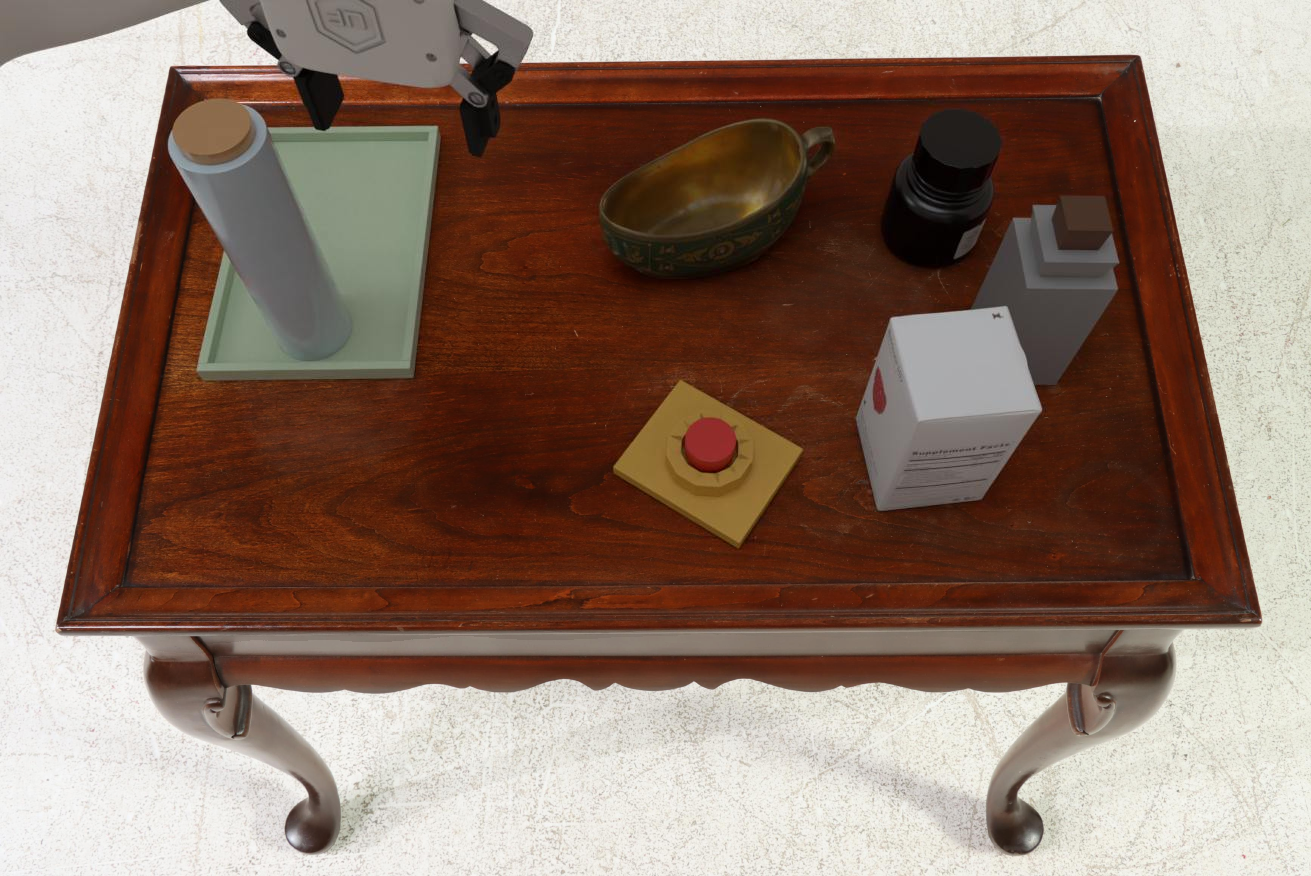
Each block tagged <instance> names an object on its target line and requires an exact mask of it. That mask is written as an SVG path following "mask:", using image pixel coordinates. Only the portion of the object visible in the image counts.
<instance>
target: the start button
mask: <svg viewBox="0 0 1311 876" xmlns="http://www.w3.org/2000/svg"><path fill="white" fill-rule="evenodd" d="M735 446H736V435H735V433H734V431H733V429H732V428H731V426H730V425H729V424H728V423H726V422H725V421H723V420H721V419H718V418H712V417H708V418H702V419H699V420H697V421H696V422H694V423H693V424H692V425H691V426H690V427H689V428H688V430H687V432H686V435H685V455H686V457H687V459H688V461H689V462H690V463H691V464H692V465H693V466H694V467H696V468H697V469H700V470H702V471H708V472H713V471H718V470H721V469H723V468H725V467H726V466H727V465H728V464H729V463H730V462H731V461H732V459H733V457H734V453H735Z"/></svg>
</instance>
